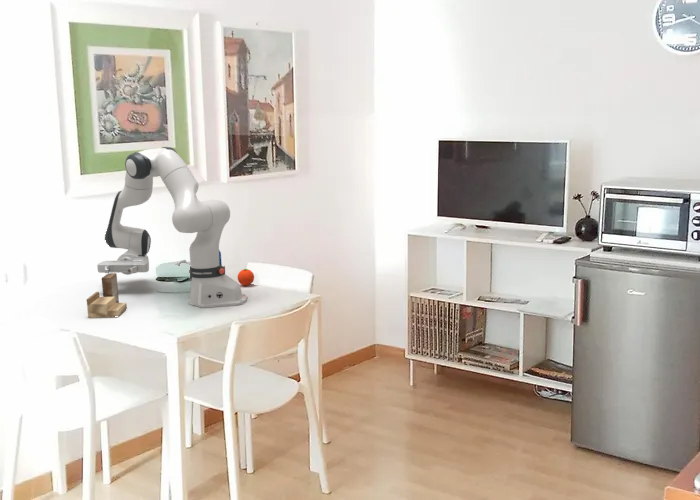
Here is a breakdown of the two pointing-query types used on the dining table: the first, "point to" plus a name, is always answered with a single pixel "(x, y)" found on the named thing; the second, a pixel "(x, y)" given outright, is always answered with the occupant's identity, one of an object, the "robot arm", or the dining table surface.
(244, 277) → the clementine
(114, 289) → the brown wooden block
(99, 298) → the oak notch rail
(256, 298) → the dining table surface
